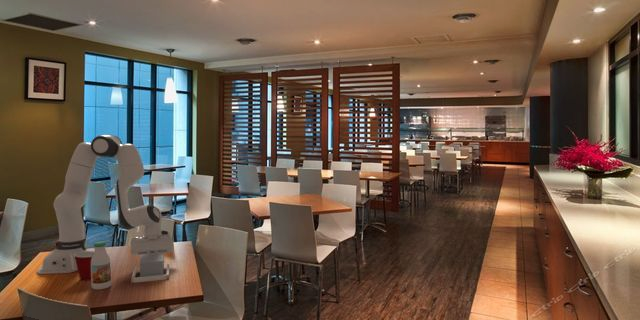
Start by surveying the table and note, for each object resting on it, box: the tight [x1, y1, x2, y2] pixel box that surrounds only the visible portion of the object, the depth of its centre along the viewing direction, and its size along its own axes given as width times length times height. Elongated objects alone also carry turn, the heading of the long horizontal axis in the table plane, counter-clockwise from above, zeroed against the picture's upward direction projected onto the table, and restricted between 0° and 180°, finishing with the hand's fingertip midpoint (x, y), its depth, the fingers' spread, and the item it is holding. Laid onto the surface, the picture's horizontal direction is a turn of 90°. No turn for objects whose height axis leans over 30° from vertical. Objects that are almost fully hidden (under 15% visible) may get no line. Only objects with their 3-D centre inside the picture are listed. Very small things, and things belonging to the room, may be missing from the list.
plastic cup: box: [74, 250, 94, 281], centre depth 207 cm, size 11×11×12 cm
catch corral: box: [130, 263, 170, 284], centre depth 212 cm, size 16×17×2 cm
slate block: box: [139, 252, 165, 277], centre depth 213 cm, size 10×14×8 cm
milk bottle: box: [90, 240, 112, 291], centre depth 196 cm, size 8×8×20 cm
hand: (152, 260), depth 220 cm, fingers closed, pressing on slate block
